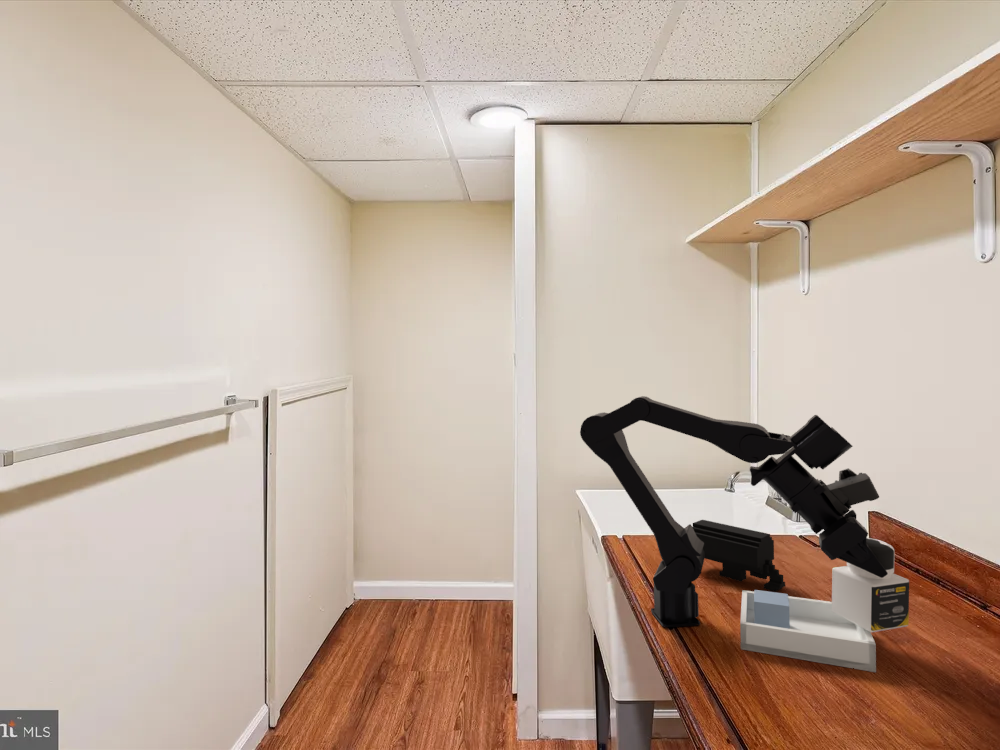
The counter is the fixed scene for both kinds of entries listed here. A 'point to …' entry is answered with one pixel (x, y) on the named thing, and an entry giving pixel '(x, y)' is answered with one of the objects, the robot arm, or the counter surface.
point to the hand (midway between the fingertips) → (880, 568)
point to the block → (771, 609)
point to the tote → (809, 635)
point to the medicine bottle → (871, 593)
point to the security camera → (740, 552)
